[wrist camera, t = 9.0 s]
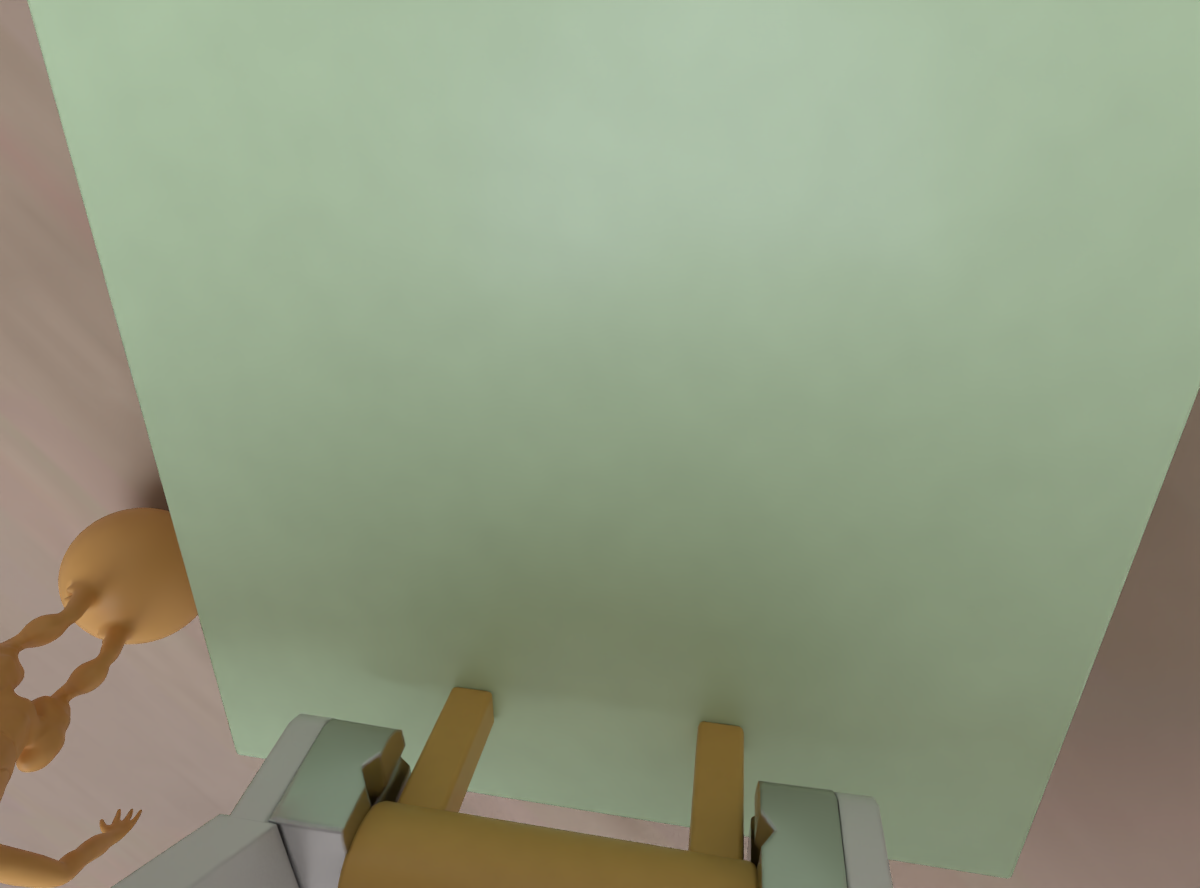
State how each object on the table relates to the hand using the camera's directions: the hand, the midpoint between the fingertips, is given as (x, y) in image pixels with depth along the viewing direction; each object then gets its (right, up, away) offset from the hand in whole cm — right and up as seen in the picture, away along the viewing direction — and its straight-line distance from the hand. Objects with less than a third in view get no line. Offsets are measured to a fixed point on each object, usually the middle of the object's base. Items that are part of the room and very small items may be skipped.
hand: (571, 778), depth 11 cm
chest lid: (0, +6, -1) cm, 7 cm away
